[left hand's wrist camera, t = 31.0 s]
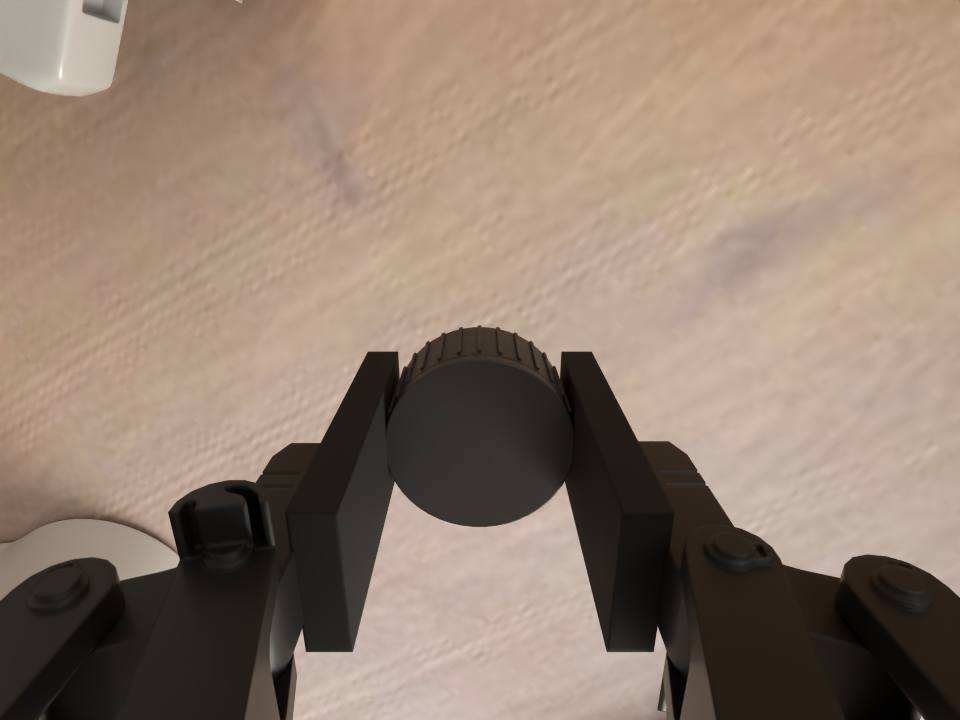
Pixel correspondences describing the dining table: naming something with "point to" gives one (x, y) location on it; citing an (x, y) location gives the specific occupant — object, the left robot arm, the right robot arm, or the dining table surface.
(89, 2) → the right robot arm
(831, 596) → the left robot arm
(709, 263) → the dining table surface
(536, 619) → the dining table surface
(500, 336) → the cap
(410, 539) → the dining table surface
